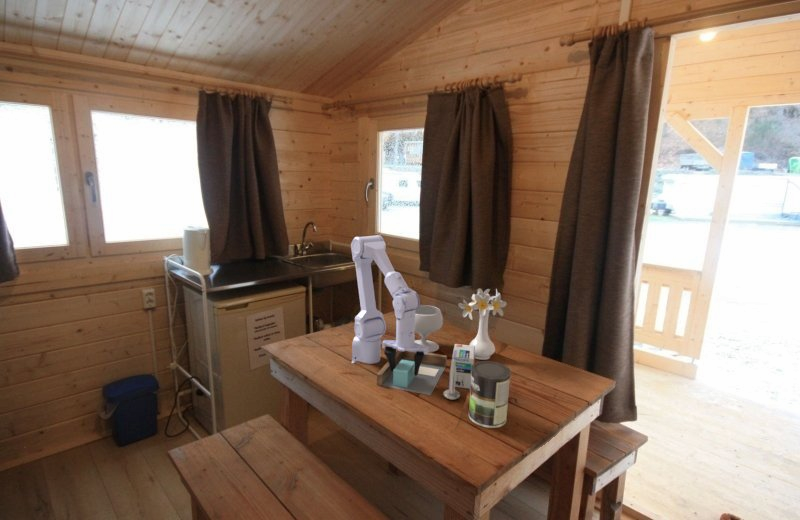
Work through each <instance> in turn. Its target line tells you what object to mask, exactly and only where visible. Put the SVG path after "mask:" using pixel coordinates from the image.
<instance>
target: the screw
mask: <svg viewBox="0 0 800 520" xmlns="http://www.w3.org/2000/svg"><path fill="white" fill-rule="evenodd" d="M455 379H456V360H455V359H452V358H451V360H450V368H449V381H448V382H449V383H448V389H445V391H443V394H442V395H443V396H444V398H446V399H448V400H451V401H453V400H457V399H459V398H460V397H461V393H460V392H459V391H458V390H456V387H455V385H456V384H455V383H456V382H455V381H456V380H455Z"/></svg>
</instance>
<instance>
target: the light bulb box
mask: <svg viewBox="0 0 800 520" xmlns="http://www.w3.org/2000/svg"><path fill="white" fill-rule="evenodd" d="M453 346H454V347H453V351H452V357H451V360H452V359H455V360H456V379H455V380H456V381H455V382H456V383H455V384H456V385H455V388H461V389H462V388H463V389H468V392H470V388H471V372H472V371H471V366H472V365H473V364H474V363H475V358H474V355H475V346H470V345H469V344H459V343H455V344H454V345H453Z"/></svg>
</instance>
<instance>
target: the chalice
mask: <svg viewBox="0 0 800 520" xmlns="http://www.w3.org/2000/svg"><path fill="white" fill-rule="evenodd" d="M443 323H444V317H443V313H442V311H441V309H440V308H439V307H436V306H434V305H429V304H427V305H426V304H420V305H419V307H418V309H415V333H416V334H418V335H419V336H420V339H415V343H417V344H421V345H424V346H428V347H429V353H435V352H437V351H439V349H440V345H439V344H438V343H437V342H435V341H431V340H428V339H427V338H428V336H429V335H430V334H433V333H436V332H438V331H439V330H441V328H442V326H443Z"/></svg>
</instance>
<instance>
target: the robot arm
mask: <svg viewBox="0 0 800 520" xmlns="http://www.w3.org/2000/svg"><path fill="white" fill-rule="evenodd" d="M386 246H387V245H386V242H385V240H384V237H382V235H380V234H376V235H368V236H367V235H366V236H355V237H354V238H353V239H352V241H351V243H350V249H351V255H352V261H353V262H354V266H355V272H356V281H357V288H358V296H359V297H358V298H359V303H360V304H359V305H360V311H359V312H358V314H357V315H355V317H354V327H353V331H354V333H355V335H354V338H353V340H352V344H351V349H352V350H351V358H352V359H351V364H354V363H356V362H359V363H360V362H361V363H362V364H369V365H371V364H377V363H379V362H380V361H381V353H382V352H381V348H382V349H385V350H384V352H383V353H384V355H385V357H386V359H387V362H388V361H389V364H390V368H391V371H392V372H393V370H394V369H395V356H396V351H397V350H398V351H411V352H416V354H415V355H414V361H415V370H414V375H415V376H417V374H418V372H419V368H420V364H421V362H422V359H423V357H424V355H427V354H428V353H429V347H428V346H424V345H421V344H417V343H415V340H416V339H415V337H416V336H415V335H416V334H415V333H416V332H415V309H418V307H419V305H421V304H420V303H421V301H420V300H421V299H420V296H419V295H418V292H416V291H415V290H413V289H412V288H410V287H409V285H408V284H407V283H406V280H405V279H404V278H403V276H402V274H401V272H399V271H395V268H394V266H393V265H392V262H391V261H390V257H389V256H388V254H387V252H386V248H387V247H386ZM373 262H374V263H375V264H376V265H377V267H378V269H379V270H380V272H381V273H382V274H383V276H384V279H383V280H384V281H383V282H384V285H385V286H386V289H388V292H389V293H390V296H391V297H392V299H393V300H392V308H393V309H394V316H395V318H396V321H395V322H396V324H395V326H396V327H395V328H396V330H395V331H396V332H395V339H394V340H392V339H390V340H389V339H388V340H387V339H384V340H383V341H381V339H382V338H383V335H384V334H385V333H386V330H387V324H386V321H385V318H384V314H383V313H382V312H381V311H380V310H378V309H377V304H376V297H375V289H374V288H375V287H374V282H373V280H374V279H373V272H372V263H373Z"/></svg>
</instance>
